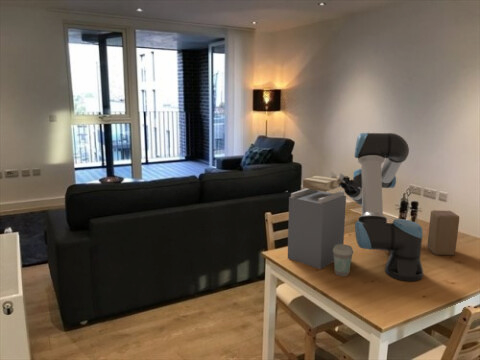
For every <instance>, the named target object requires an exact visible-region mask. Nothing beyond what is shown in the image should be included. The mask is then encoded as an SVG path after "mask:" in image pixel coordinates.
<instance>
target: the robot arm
mask: <svg viewBox="0 0 480 360" xmlns="http://www.w3.org/2000/svg"><path fill="white" fill-rule="evenodd" d="M409 153H410V147H409V145H408V142H407V141H406V139H405V138H403V137H402V136H401V135H399V134H397V133H394V132H393V133H392V132H389V133H388V132H387V133H386V132H381V133H380V132H362V133H359V134H358V136H357V138H356V143H355V148H354V158H355V159H357V162H358V164H360V165H361V168H358V169H355V170H354V171H353V173H352V175H353V176H352V179H351V178H350V177H349V176H348V177H347V178H346V177H345V176H344V175H345V174H343V173H341V172H339V174H335V172H333V171H330V175H329V177H335V176H338V175H339V179H340V180H341V181H342V183H339V187H338V188H341V189H343V191H344V194H345V195H347V196H348V197H349V198H350V199H352V200H353V202H355V203H356V204H357V205H360V206H361V215H360V216H359V217H358V220H357V221H356V222H355V223H354V231H355V232H354V233H355V239H356V243H357V245H358V247H359V248H360V249H363V250H364V249H365V250H369V251H371V250H376V251H377V250H379V251H390V253H389V254H390V255H389V257H388V259H387V261H386V264H385V267H384V273H385V274H386V275H388V276H389V277H391V278H393V279H396V280H398V281H399V280H400V281H405V282H416V281H420V280H422V279H423V277H424V269H423V265H422V262H421V252H422V242H423V237H424V236H423V227H422V226H421V225H420V224H419V223H417V222H416V221H415V222H414V221H412V220H409V219H404V218H403V219H402V218H395V219H393V221H392V222H388V221H387V217H386V216H385V215H384V214H383V213H384V209H383V205H384V204H383V189H393V188H395V186H396V183H397V176H396V175H397V172H398V171H399V169H400V167H401V165H402V163H404V162H405V161H406V160H407V158H408V156H409Z"/></svg>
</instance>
